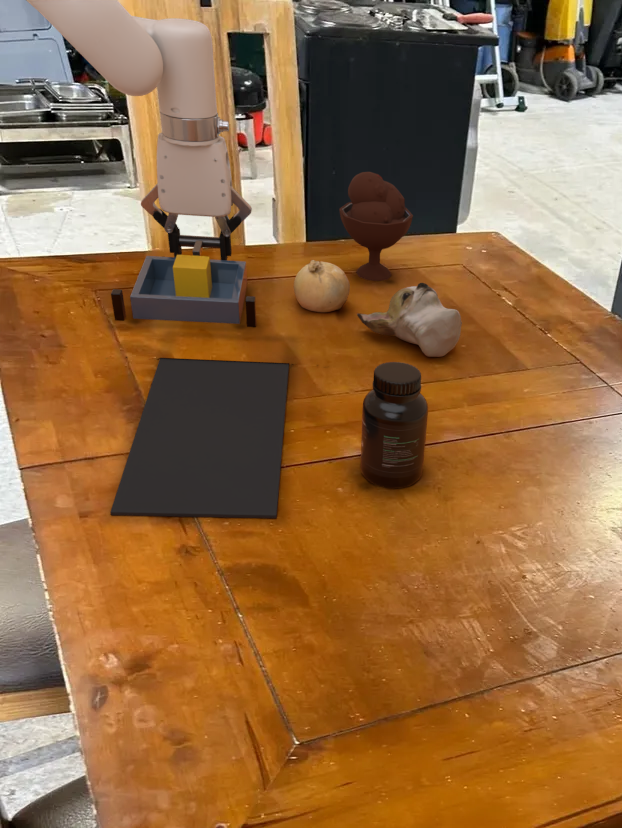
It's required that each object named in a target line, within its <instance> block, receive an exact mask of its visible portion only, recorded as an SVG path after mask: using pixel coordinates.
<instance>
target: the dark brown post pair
mask: <svg viewBox="0 0 622 828" xmlns="http://www.w3.org/2000/svg"><path fill="white" fill-rule="evenodd" d="M110 298H111V303H112V310H113V316H114V321H119V322H124V321H125V320H126V317H127V313H126V306H125V299H124V292H123V289H119V288H113V289H112V290H111V293H110ZM244 303H245V316H246V318H245V319H246V327H247V328H256V327H257V322H258V321H257V303H256V296H254V295H253V296H250V295H245V300H244Z"/></svg>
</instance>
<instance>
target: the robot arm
mask: <svg viewBox="0 0 622 828" xmlns="http://www.w3.org/2000/svg"><path fill="white" fill-rule="evenodd" d="M25 1H26V2H27V3H28V4H29V5H31V6H32V7H33V8H34V9H35V10H36V11H37V12H38V13H40V14H41V15H42V16H43V17H44V19H46V20H47V21H48V22H49V24H51V26H52V27H53V28H54V29H55V30H56V31H57V32H58V33H59V34H61V36H62V37H63V38H64V39H65V40H66V41H67V42H68V43H69V44H70V45H71V46H72V47H73V48H74V49H75V50H76V51H77V52H78V54H80V55H81V56H82V57H83V58H84V59H85V60H86V61H87V62H88V63H89V64H90V65H91V66H92V67H93V68H94V70H96V71H97V72H98V73H99V74H100V75H101V76H102V78H103V79H105V80H106V81H107V83H108V84H110V85H111V86H112V87H113V88H114V89H115V90H117V91H118V92H120V93H122V94H123V95H127V96H129V97H130V96H132V97H142V96H146V95H149V94H151V93H152V92H153V91H154V90H156V89H157V98H158V107H159V115H160V117H159V118H160V125H161V132H160V133H159V132H158V134H157V141H156V179H157V183H156V184H155V185H154V186H153V187H152V188H151V190H150V191H148V193H147V194H146V195H144V197H143V198H142V200H141V202H140V206H141V207H142V209H143V210H145V211H146V212H147V213H148V214H149V215H150V216H151V217H152V218H153V219H154V220H155V222H157V223H158V224H159V225H160V227H162V228H163V229H164V232H165V233H167V241H168V248H169V254H173V257H176V256H177V255H183V249H182V247H181V246H179V241H178V237H179V235H181V230H180V228H179V226H178V224H177V221H178V217H179V216H193V217H210V218H214V219H215V220H216V223H217V225H218V227H219V229H220V233H219V236H218V237H219V241H220V249H219V250H220V251H219V252H220V255H219V256H220V260H228V258H229V257H232V253H233V252H232V237H231V234H232V233H233V232H234V231H236V229H237V228H238V227H239V226H240V225H241V224H242V223H243V222H244V221H245V220H246V219H247V218H249V216H250V215H251V214H252V211H253V208H252V206H251V205H250V204H249V203H248V202H247V201H246V199H245V198H244V197H243V196H242V195H241V194H240V193H239V192H238V191H237V190H236V189H235V188H234V187H233V177H232V170H231V162H230V156H229V151H228V146H227V143H226V139H225V137H223V136H221V133H224V132H227V133H229V132H230V124H229V120H224V119H223V118H221V117H220V116H219V112H218V106H217V105H218V104H217V93H216V92H217V91H216V78H215V63H214V47H213V45H214V44H213V37H212V33H211V30H210V29H209V27H208V26H207V25H206V24H204V23H203V22H201V21H198V20H193V19H188V18H180V17H179V18H177V17H172V18H171V17H169V18H161V19H154V18H146V17H142V16H141V17H140V16H137V15H131V13H130V12H129V11H128V10H127V9H126V8H125V7H124V6H123V5H122V4H121V2H120V1H119V0H25ZM156 201H158V204H159V207H160V208H159V207H158V205H157V204H155V202H156ZM233 205H234V206H236V208H237V209H238V211H237V212H236V213H235V214H233V215H232V217H229V215H230V214H231V212H232V207H233ZM166 213H167V214H166Z"/></svg>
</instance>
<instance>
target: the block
mask: <svg viewBox="0 0 622 828" xmlns="http://www.w3.org/2000/svg"><path fill="white" fill-rule="evenodd" d="M210 259H211V257H210V256H208V255H201V256H193V254H192V255H189V254H182V255H177V256H176V259H175V262H174V265H173V274H174V283H175V292H176V296H184V297H203V298H210V294H211V290H212V278H211V266H210Z"/></svg>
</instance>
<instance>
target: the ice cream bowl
mask: <svg viewBox="0 0 622 828" xmlns="http://www.w3.org/2000/svg"><path fill="white" fill-rule="evenodd" d="M347 196H348V198H349V199H350V201H349V202H346V203H345V204H344V205H343V206H341V207H339V216H340V220H341V223H342V225H343V228H344V229H345V230H346V232H347V233H348V235H349V236H350V237H351V238H352V239H353V241H354V242H355V243H357V244H358V245H359V246H361V247H364V248H366V249H367V251H368V262H366V263H363V264H362V265H360V266H359V267H358V268H357V269H356V271H355V273H356V275H357V276H358V277H359V278H361V279H363V280H366V281H374V282H380V281H381V282H382V281H387V280H389V279H390V278H391V277H392V272H391V270H390V269H389V267H387V266H385V265H384V264H382V263H381V253H382V252H383V251H382V250H385V249H389V248H391V247H393V246H394V245H396V244H397V243H398V242H399V241H400V240H401V239H402V238H403V237H404V236H405V235H407V233H408V232H409V229H410V228H411V225H412V221H413V217H414V215H413V214H412V212H411V211H410V210H409V209H408V208H407V207H406V203H405V201H406V199H405V198H404V196H403V195H402V193H401V191H400V190H399V189H398V188H397V187H396V186H395V185H394V184H392V183H391V182H389V181H386V180H384V178H383V177H382V175H380V174H378V173H375V172H372V171H362V172H359V173H357V174H355V176H354V177H352V179H351V180H350V183H349V185H348V187H347Z"/></svg>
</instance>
